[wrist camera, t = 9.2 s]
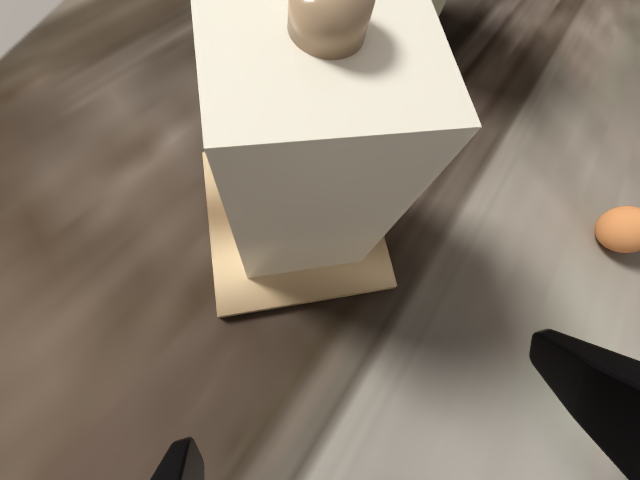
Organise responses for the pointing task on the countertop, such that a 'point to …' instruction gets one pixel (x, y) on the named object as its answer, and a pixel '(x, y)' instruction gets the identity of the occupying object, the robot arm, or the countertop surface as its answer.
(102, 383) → the countertop surface
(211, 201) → the coaster
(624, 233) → the ball
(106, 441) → the countertop surface
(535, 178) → the countertop surface
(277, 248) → the knobbed white block
